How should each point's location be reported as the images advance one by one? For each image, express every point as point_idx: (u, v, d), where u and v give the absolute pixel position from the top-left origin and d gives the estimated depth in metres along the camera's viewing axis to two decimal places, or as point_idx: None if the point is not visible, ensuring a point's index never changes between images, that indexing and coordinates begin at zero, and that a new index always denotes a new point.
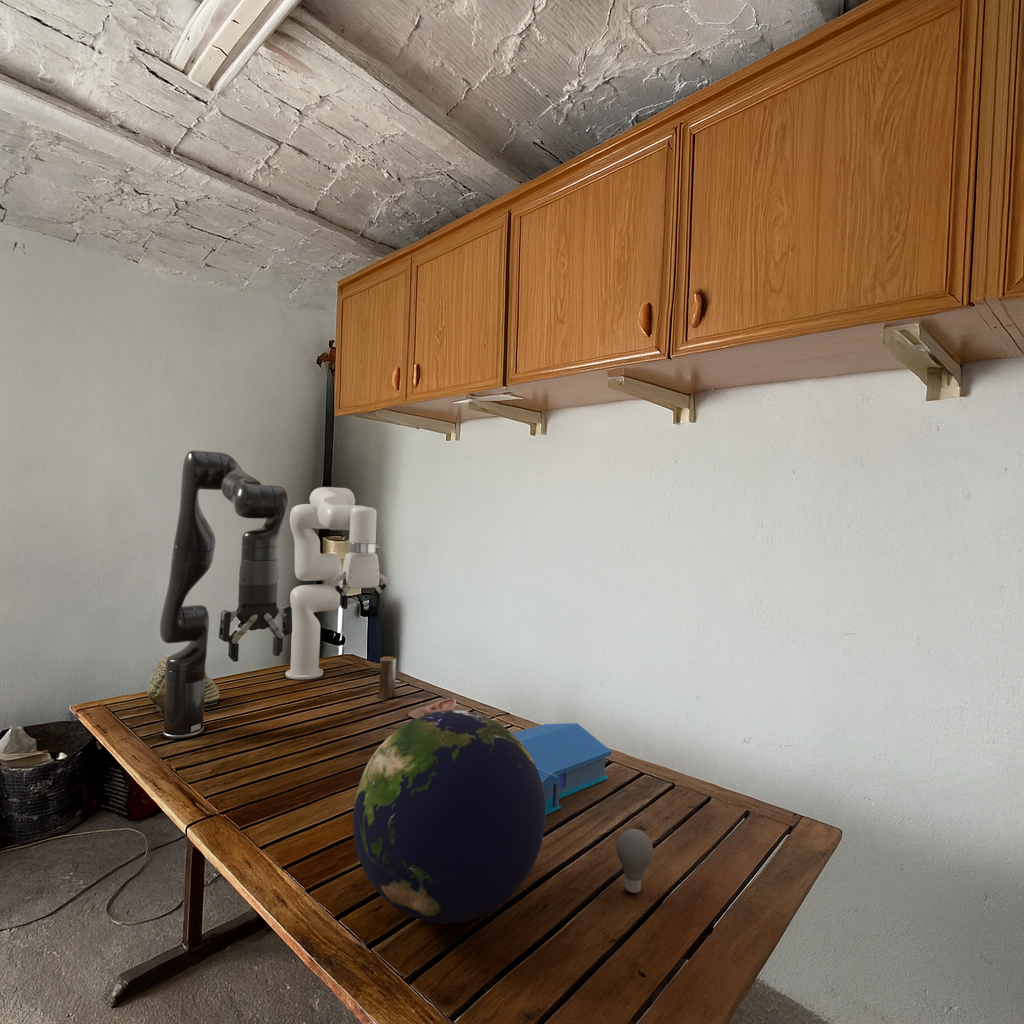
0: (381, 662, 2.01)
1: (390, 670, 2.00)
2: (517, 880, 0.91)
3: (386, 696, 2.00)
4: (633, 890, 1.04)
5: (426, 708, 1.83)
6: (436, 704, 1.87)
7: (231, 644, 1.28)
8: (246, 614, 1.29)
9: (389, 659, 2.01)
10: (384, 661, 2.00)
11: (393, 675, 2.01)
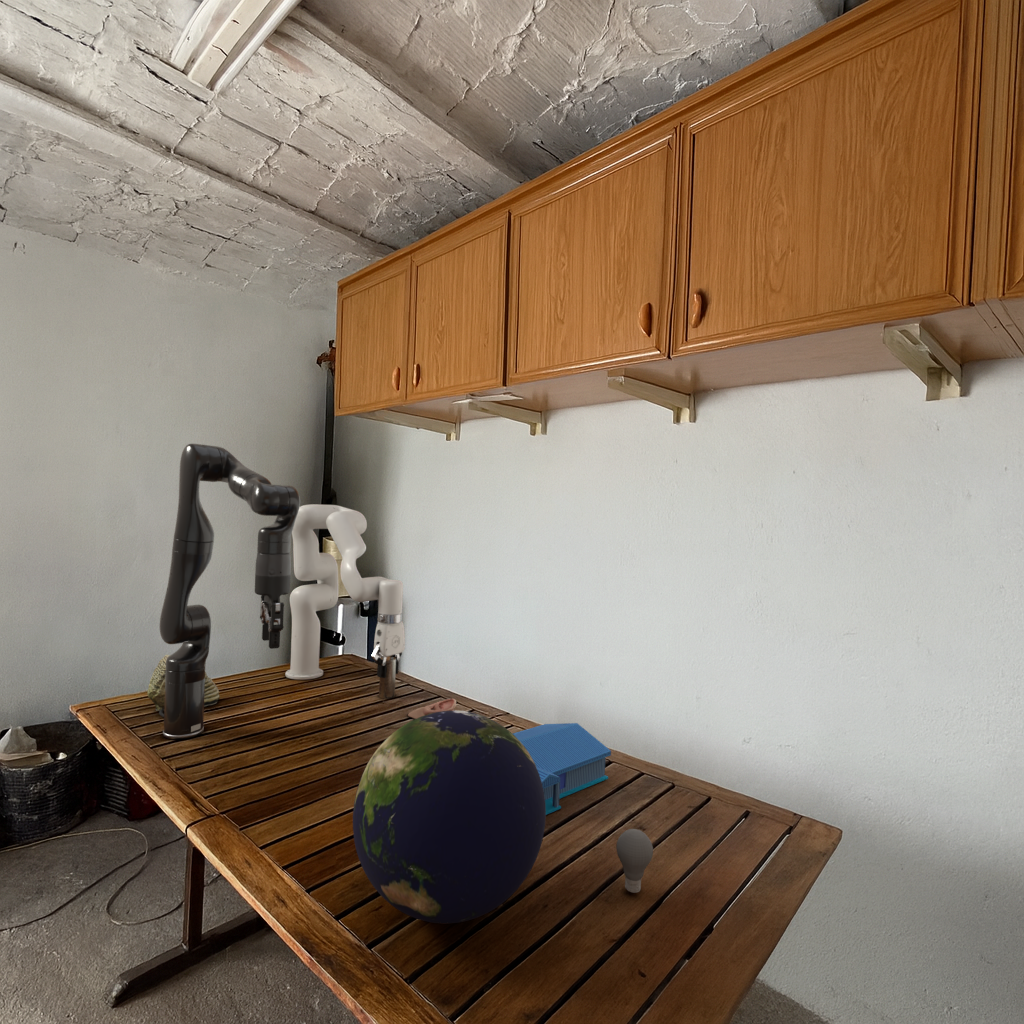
0: None
1: (390, 670, 2.00)
2: (517, 880, 0.91)
3: (386, 696, 2.00)
4: (633, 890, 1.04)
5: (426, 708, 1.83)
6: (436, 704, 1.87)
7: None
8: (264, 600, 1.45)
9: (389, 659, 2.01)
10: None
11: (393, 675, 2.01)
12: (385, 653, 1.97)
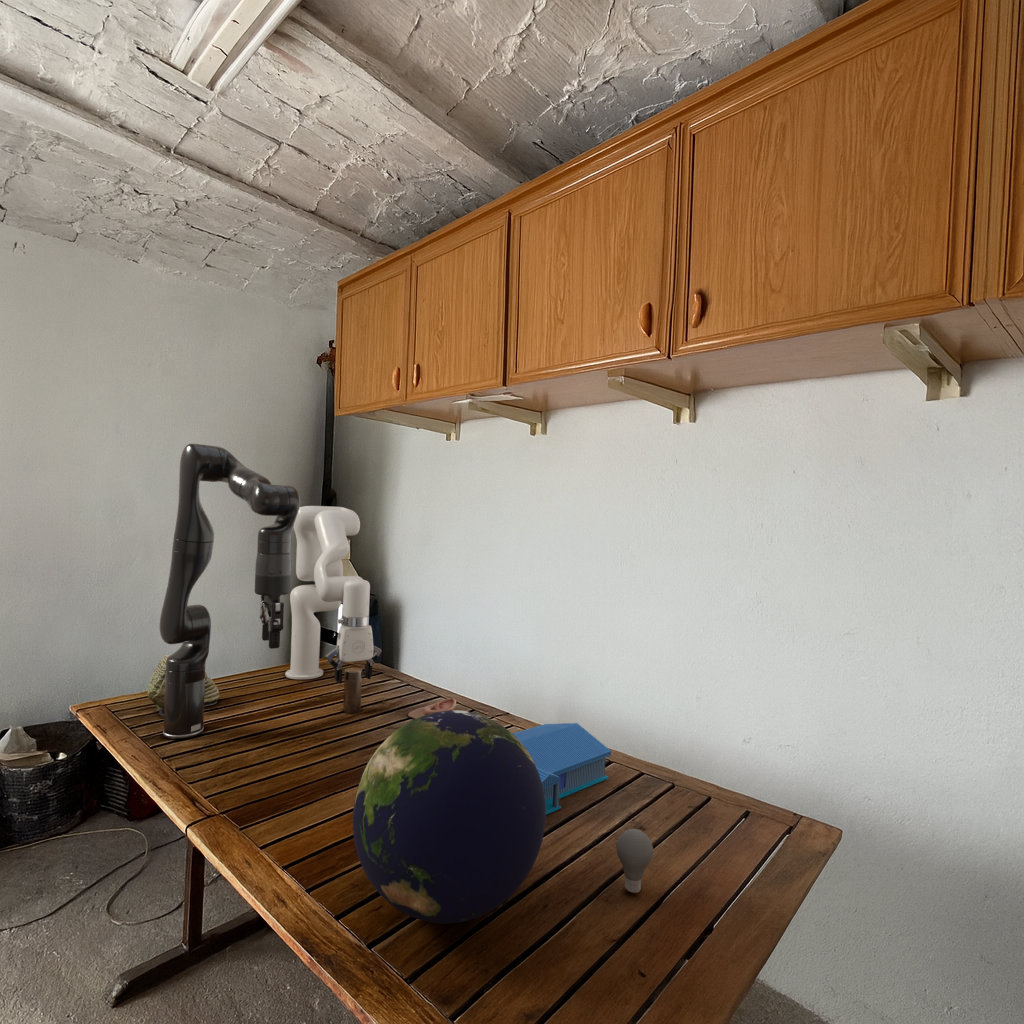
0: None
1: (352, 682, 1.85)
2: (517, 880, 0.91)
3: (347, 710, 1.85)
4: (633, 890, 1.04)
5: (426, 708, 1.83)
6: (436, 704, 1.87)
7: None
8: (264, 600, 1.45)
9: (352, 671, 1.86)
10: (346, 672, 1.86)
11: (356, 689, 1.86)
12: (342, 658, 1.83)
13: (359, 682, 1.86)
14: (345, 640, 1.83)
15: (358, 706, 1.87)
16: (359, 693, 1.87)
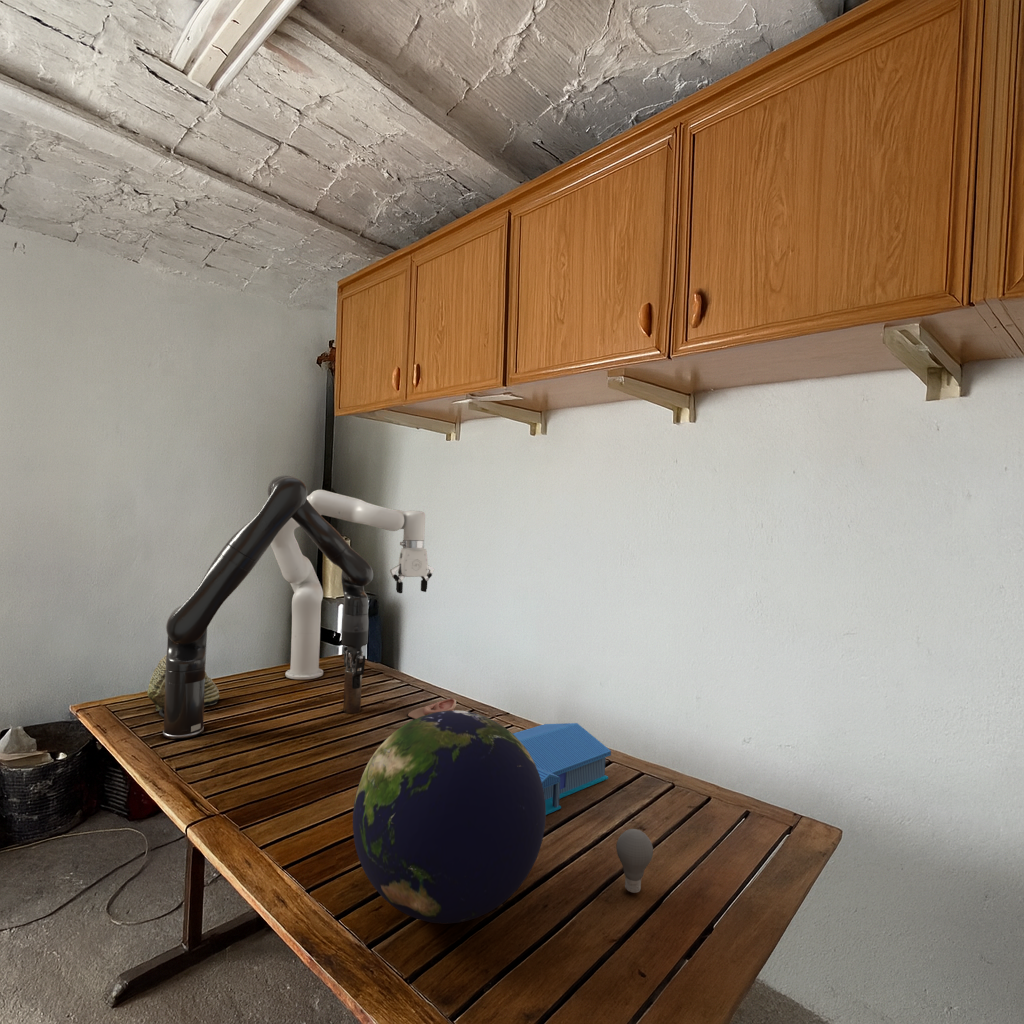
0: (345, 673, 1.87)
1: None
2: (517, 880, 0.91)
3: (347, 710, 1.85)
4: (633, 890, 1.04)
5: (426, 708, 1.83)
6: (436, 704, 1.87)
7: None
8: (348, 649, 1.89)
9: None
10: (346, 672, 1.86)
11: (356, 689, 1.86)
12: (404, 573, 2.24)
13: None
14: (406, 558, 2.24)
15: (358, 706, 1.87)
16: (359, 693, 1.87)
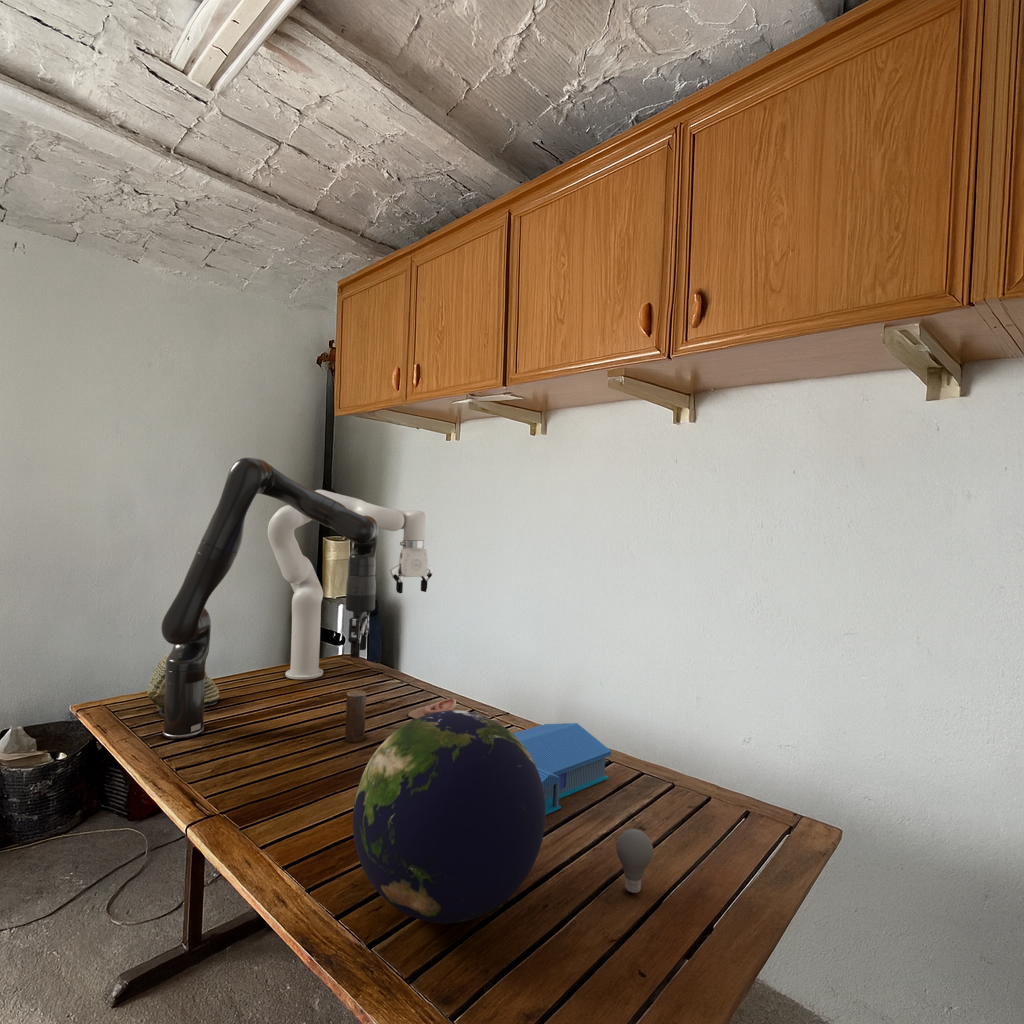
0: None
1: (350, 707, 1.64)
2: (517, 880, 0.91)
3: (346, 738, 1.64)
4: (633, 890, 1.04)
5: (426, 708, 1.83)
6: (436, 704, 1.87)
7: None
8: None
9: (353, 694, 1.65)
10: None
11: (354, 715, 1.64)
12: (404, 573, 2.24)
13: (359, 708, 1.64)
14: (406, 558, 2.24)
15: (358, 735, 1.64)
16: (359, 720, 1.64)
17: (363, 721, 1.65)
